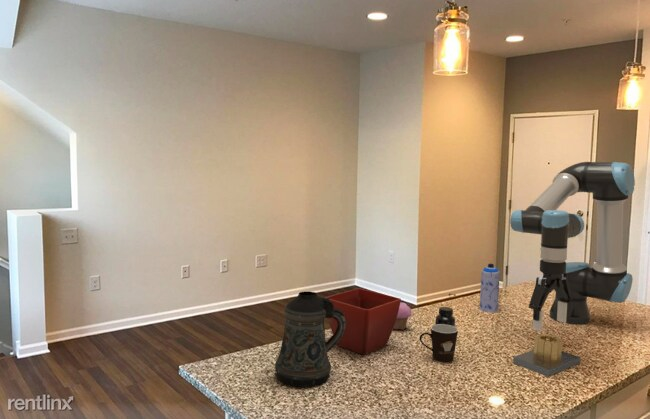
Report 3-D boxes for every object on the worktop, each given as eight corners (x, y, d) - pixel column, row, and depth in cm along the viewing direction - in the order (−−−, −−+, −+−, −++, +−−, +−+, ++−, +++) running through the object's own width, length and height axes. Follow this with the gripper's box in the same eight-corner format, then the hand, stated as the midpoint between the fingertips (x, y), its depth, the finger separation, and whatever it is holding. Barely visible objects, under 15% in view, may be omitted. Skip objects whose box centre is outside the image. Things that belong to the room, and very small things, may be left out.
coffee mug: (457, 355, 168) (459, 326, 167) (455, 365, 160) (456, 334, 159) (422, 350, 171) (423, 321, 170) (418, 360, 163) (419, 329, 162)
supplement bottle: (450, 346, 176) (452, 312, 174) (431, 342, 179) (433, 309, 178) (456, 340, 181) (458, 307, 180) (438, 337, 185) (439, 304, 184)
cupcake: (409, 325, 197) (410, 300, 196) (411, 333, 189) (412, 306, 188) (386, 324, 198) (387, 299, 197) (387, 331, 190) (388, 305, 189)
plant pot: (400, 345, 176) (402, 298, 174) (366, 361, 162) (367, 309, 160) (358, 332, 189) (359, 287, 187) (322, 345, 175) (323, 297, 173)
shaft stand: (545, 351, 173) (546, 332, 172) (580, 363, 163) (581, 343, 162) (513, 362, 162) (514, 343, 162) (548, 376, 153) (549, 355, 152)
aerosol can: (500, 312, 216) (503, 266, 214) (482, 312, 216) (484, 265, 214) (494, 307, 224) (497, 262, 222) (476, 306, 224) (479, 261, 222)
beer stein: (266, 371, 153) (266, 289, 151) (322, 359, 163) (323, 282, 160) (289, 393, 139) (290, 304, 136) (350, 379, 148) (352, 295, 146)
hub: (542, 350, 168) (543, 332, 167) (566, 358, 162) (567, 340, 161) (528, 355, 163) (529, 337, 163) (551, 364, 157) (553, 345, 156)
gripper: (563, 253, 169) (560, 315, 172) (518, 263, 155) (515, 330, 158) (585, 257, 163) (582, 321, 166) (541, 267, 149) (537, 337, 152)
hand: (549, 325), depth 162 cm, fingers open, 13 cm apart
